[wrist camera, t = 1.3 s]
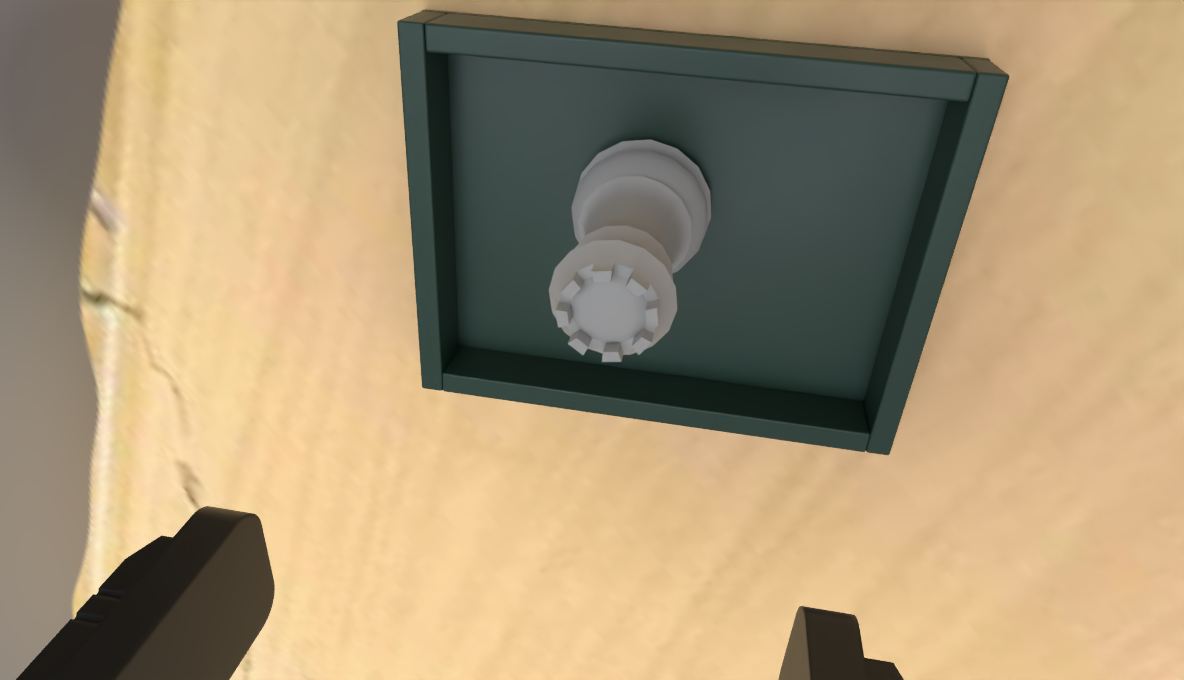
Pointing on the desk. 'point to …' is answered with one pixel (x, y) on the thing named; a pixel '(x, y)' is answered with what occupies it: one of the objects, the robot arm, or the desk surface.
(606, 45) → the tray
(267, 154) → the desk surface
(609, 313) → the rook chess piece
